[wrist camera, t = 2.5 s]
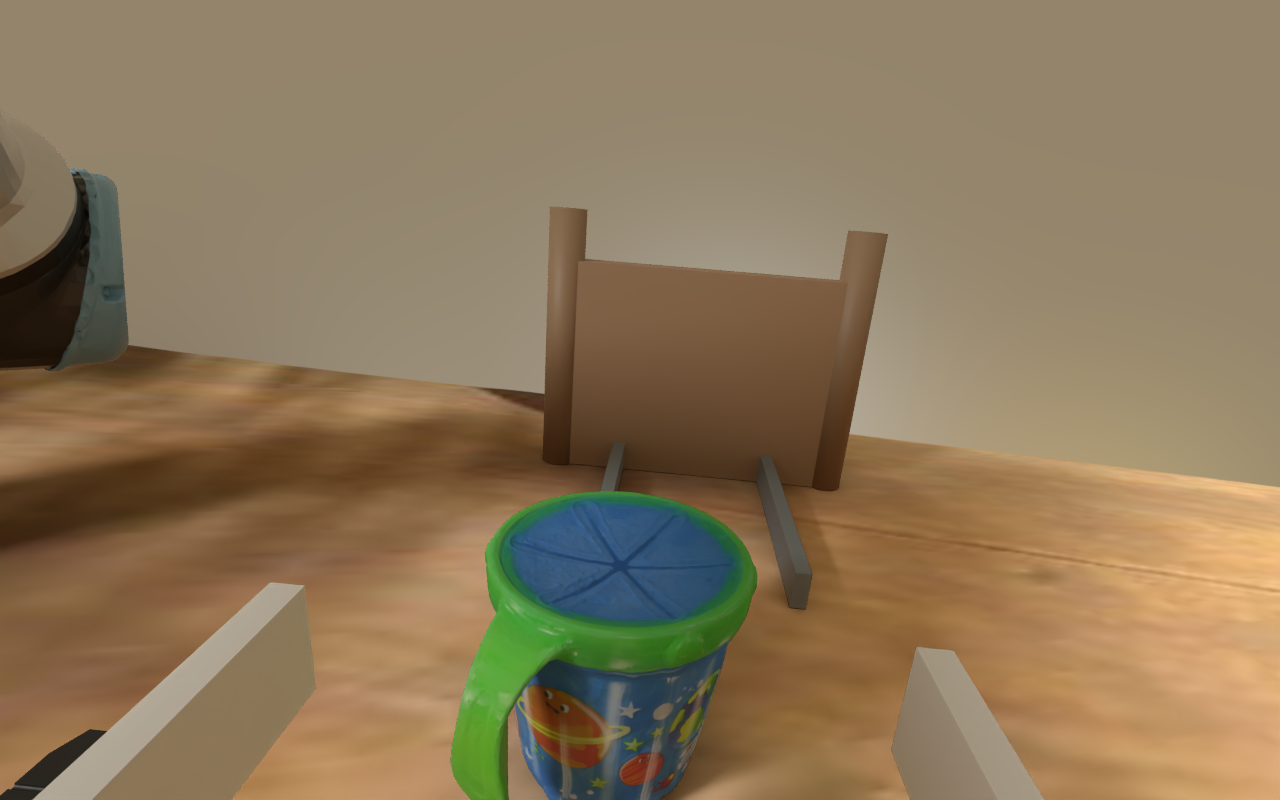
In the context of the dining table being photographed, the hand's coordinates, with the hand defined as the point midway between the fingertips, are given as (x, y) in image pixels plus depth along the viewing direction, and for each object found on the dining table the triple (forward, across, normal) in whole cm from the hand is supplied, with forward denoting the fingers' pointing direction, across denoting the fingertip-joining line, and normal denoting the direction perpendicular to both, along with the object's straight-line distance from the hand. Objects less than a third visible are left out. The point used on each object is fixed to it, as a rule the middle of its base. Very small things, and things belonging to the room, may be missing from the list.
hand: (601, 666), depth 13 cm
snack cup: (+11, 0, -14) cm, 18 cm away
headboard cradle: (+33, +4, -13) cm, 35 cm away
